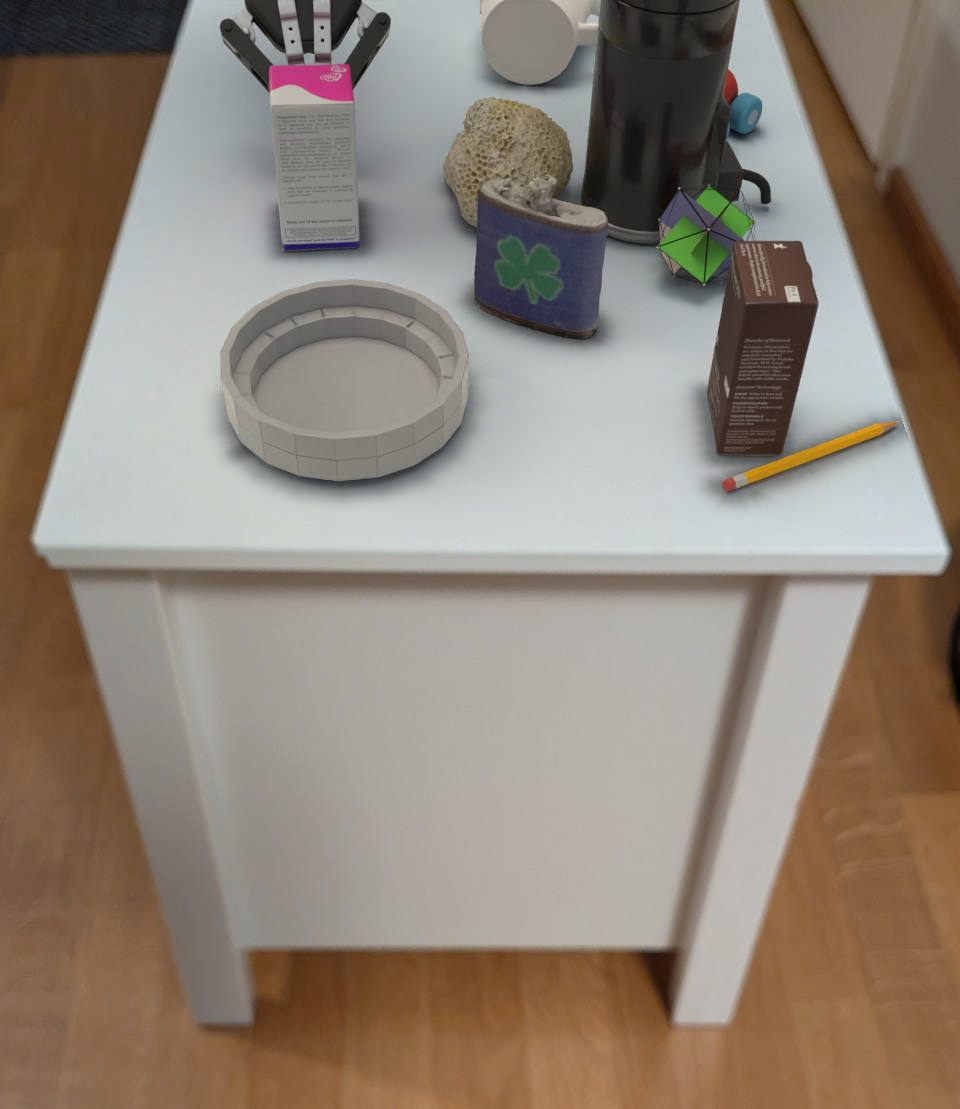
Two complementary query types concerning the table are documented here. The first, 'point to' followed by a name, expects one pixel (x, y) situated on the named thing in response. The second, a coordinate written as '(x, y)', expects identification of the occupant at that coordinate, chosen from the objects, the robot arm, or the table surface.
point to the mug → (535, 36)
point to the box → (761, 346)
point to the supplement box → (315, 155)
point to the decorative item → (505, 151)
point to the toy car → (741, 107)
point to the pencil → (806, 455)
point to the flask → (539, 257)
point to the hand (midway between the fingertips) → (317, 151)
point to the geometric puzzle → (701, 232)
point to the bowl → (345, 379)
